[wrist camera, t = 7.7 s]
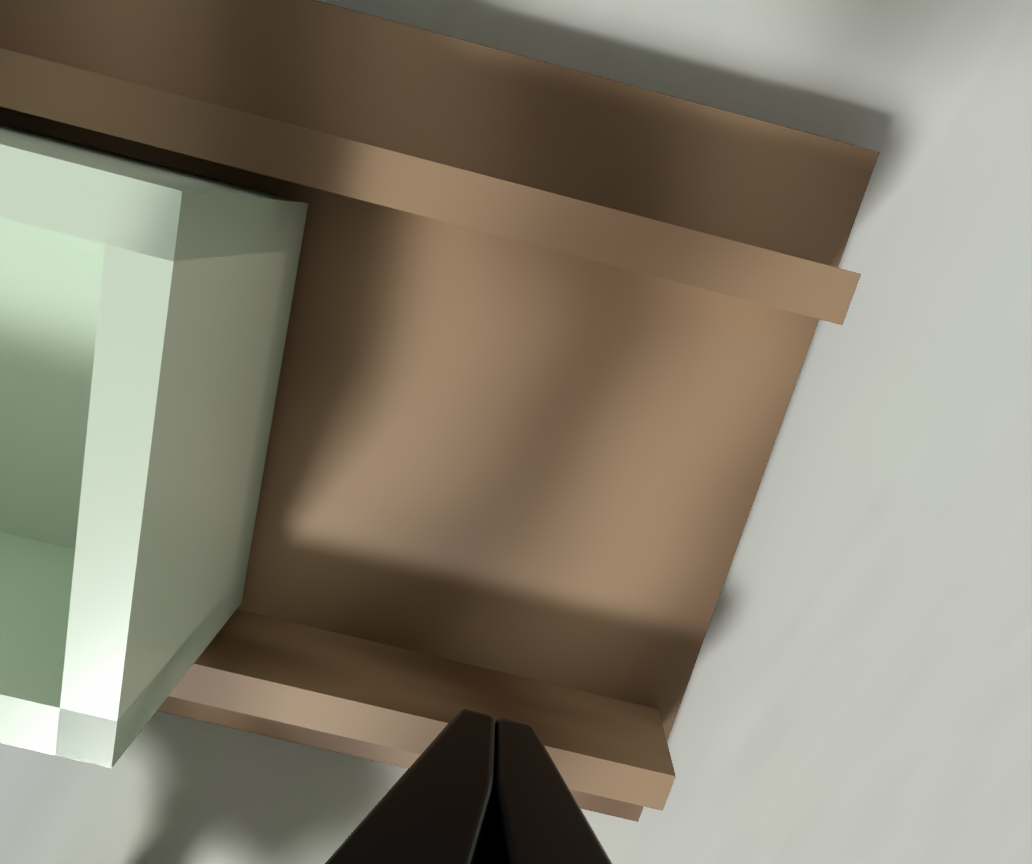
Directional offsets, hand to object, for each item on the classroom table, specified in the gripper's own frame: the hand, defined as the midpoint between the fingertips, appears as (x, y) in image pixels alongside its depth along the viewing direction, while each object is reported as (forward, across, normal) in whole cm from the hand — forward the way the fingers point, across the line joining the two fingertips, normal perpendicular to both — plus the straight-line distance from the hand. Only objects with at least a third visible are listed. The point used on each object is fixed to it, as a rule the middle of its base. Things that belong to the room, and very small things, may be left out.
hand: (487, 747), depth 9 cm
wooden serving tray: (+11, +8, 0) cm, 13 cm away
